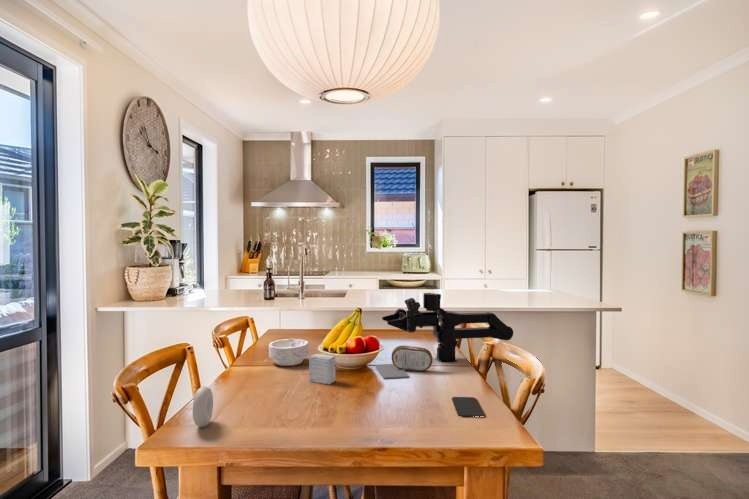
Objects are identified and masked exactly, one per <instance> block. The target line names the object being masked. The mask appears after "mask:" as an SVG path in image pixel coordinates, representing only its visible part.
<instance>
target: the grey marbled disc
mask: <svg viewBox="0 0 749 499" xmlns="http://www.w3.org/2000/svg"><path fill="white" fill-rule="evenodd" d="M196 390H197V391H196V392H195V395H194V397H193V401H192V418H193V420H192V421H193V422H194V424H195V426H197V427H199V428H204V427H206V426H207V425H208V424H209V423H210V422H211V419H212V416H213V411H214V396H213V391H212V389H211V388H210V387H209V386H205V385H204V386H201V387H200V388H198V389H196Z"/></svg>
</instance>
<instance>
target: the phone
mask: <svg viewBox="0 0 749 499" xmlns="http://www.w3.org/2000/svg"><path fill="white" fill-rule="evenodd" d="M451 401H452V403H453V406H454V409H455V411H457V412H456V414H458V415H457V416H458V417H459V416H462V417H461V418H470V417H473V416H474V417H475V416H479V417H480V416H485V412H484V411H483V409H482V407H481V405H480V403H479V401H478V400H477V398H476V397H473V396H453V397H451Z"/></svg>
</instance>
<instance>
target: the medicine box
mask: <svg viewBox="0 0 749 499" xmlns="http://www.w3.org/2000/svg"><path fill="white" fill-rule="evenodd" d="M308 357H309V358H308V359H309V362H308V363H309V364H308V365H309V366H308V369H309V370H308V376H309V377H308V381H309V382H311V383H317V384H323V385H331V384H333V383H334V382H335V381H336V356H335V355H328V354H319V353H315V354H313V355H311V356H308Z"/></svg>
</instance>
